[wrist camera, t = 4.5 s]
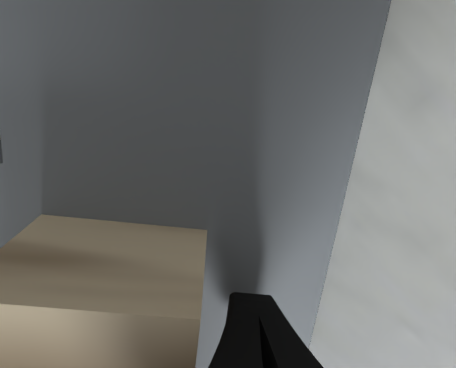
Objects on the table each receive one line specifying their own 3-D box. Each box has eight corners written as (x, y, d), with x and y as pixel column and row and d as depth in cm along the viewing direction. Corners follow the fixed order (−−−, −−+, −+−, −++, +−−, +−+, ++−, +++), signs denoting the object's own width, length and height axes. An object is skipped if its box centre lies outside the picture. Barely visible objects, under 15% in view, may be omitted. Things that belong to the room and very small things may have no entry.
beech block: (193, 356, 12) (182, 485, 9) (49, 346, 12) (-30, 476, 8) (207, 230, 11) (200, 319, 7) (41, 214, 10) (-61, 299, 7)
